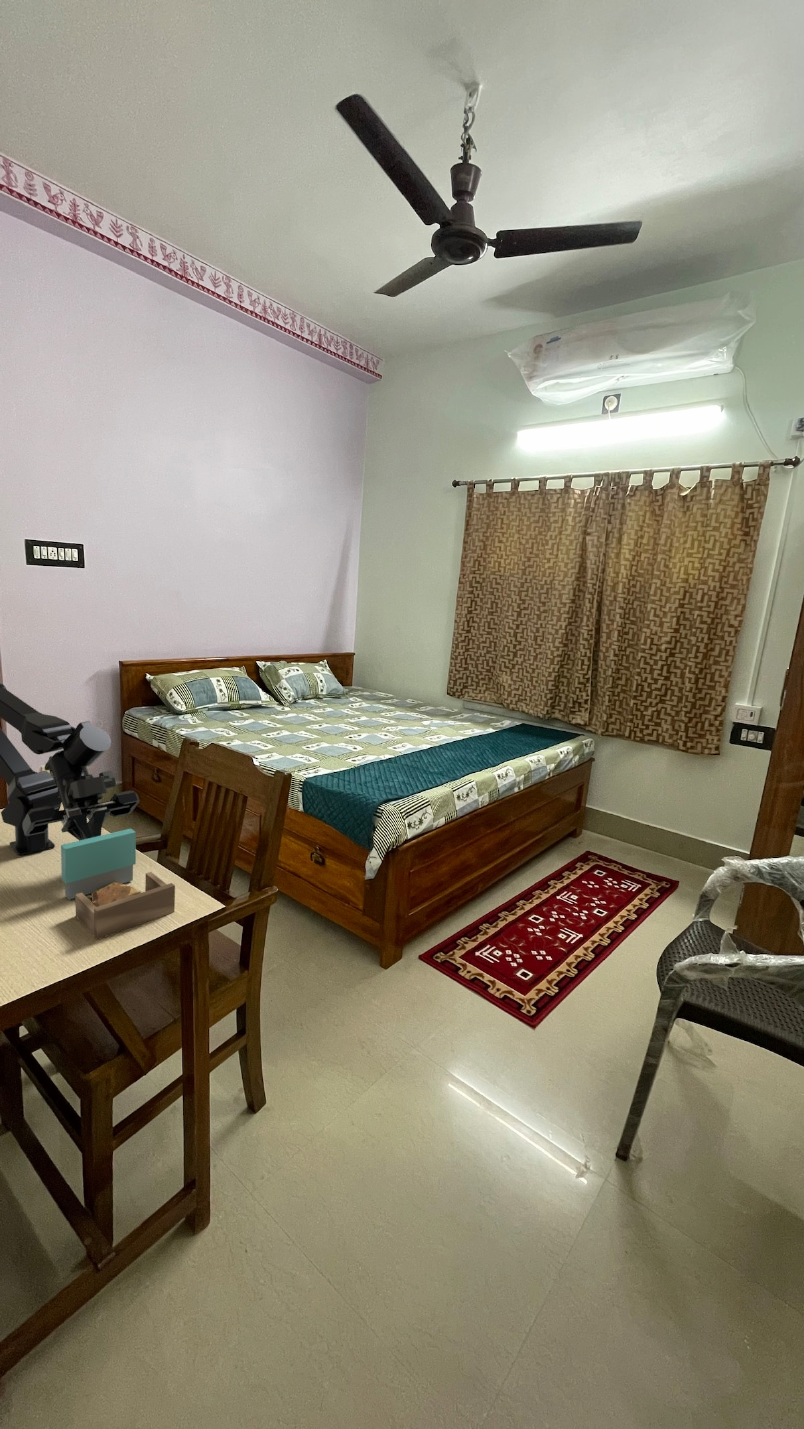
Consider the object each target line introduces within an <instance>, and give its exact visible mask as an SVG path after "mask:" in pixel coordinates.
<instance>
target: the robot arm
mask: <svg viewBox="0 0 804 1429" xmlns="http://www.w3.org/2000/svg"><path fill="white" fill-rule="evenodd" d="M0 719H2V720H3V721H4V722H6V724H7V723H8V724H9V725H10V726H11V727H13V728H14V729H16V730H17V731H18V732H19V733H20V734H21V742H22V743H23V744H24V745H25V746H27V748H28V749H29V750H30V751H31V752H32V753H34V755H35V754H36V755H44V754H48V753H52V752H53V753H54V752H55V753H54V754H53V755H51V756H49V757H48V760H47V762H46V763H45V765H44V770H43V771H40V772H39V771H38V772H37V771H34V770H33V769H32V768H31V766H30V764H28V762H27V761H26V759H25V758H24V757H23V755H22V754H21V753H20V752H19V750H18V749H17V748H16V747H15V745H14V743H12V741H11V740H10V739H9V737H8V736H7V735H6V733H5V732H4V730H2V728H1V727H0V776H1V778H2V779H3V780H4V781H5V783H6V784H7V786H8V787H7V788H8V789H7V801H8V804H7V805H6V806H5V807H4V808H3V809H2V810H1V811H0V815H1V818H2V821H3V823H4V824H7V825H10V826H13V827H14V834H15V835H14V836H15V838H14V839H15V840H14V841H11V842H9V846H10V847H11V848H12V850H13V851H14V852H15V853H16V854H17V856H23V855H29V854H33V853H37V852H42V851H46V850H50V849H54V848H55V847H56V845H55V844H56V843H54V842H53V841H52V840H50V839H49V825H50V824H53V823H54V824H55V823H58V822H60V823H61V824H62V826H63V827H62V828H61V833H68V834H69V835H71V836H72V837H74V838H75V839H77V841H80V840H84V839H89V838H93V837H97V836H101V835H102V828H103V824H104V823H105V821H106V820H107V818H108V816H109V815H110V816H112V817H114V818H118V817H122V816H126V815H127V816H128V815H129V814H131V813H133V811H134V810H135V808H136V807H137V806H138V805H139V803H140V799H139V798H140V797H139V795H138V793H136V792H135V791H134V790H127V791H122V792H116V793H114V794H113V795H112V797H111V798H110V800H107V801H102V802H99V800H102V799H103V797H104V795H103V794H108V789H113V788H115V787H116V785H117V782H116V778H115V774H114V772H113V770H107V771H102V772H100V773H99V774H98V776H95V777H94V775H93V774H90V773H89V770H88V767H89V766H92V765H93V764H94V763H95V762H96V761H97V760H98V759H99V758H100V757H101V756H103V754H104V753H106V752H107V750H108V749H110V747H111V746H112V745H111V744H112V739H111V735H110V734H109V733H108V732H106V731H105V730H104V729H102V727H98V726H95V725H93V724H92V723H91V721H88V720H87V721H82V722H79V723H78V724H77V725H76V727H74V726H72V725H71V724H70V723H69V722H68V721H67V720H64V719H63V718H60V717H58V716H56V715H52V714H51V715H50V714H44V713H42V712H39V711H38V710H37V709H36V708H34V707H33V706H31V705H29V704H28V703H26V702H25V701H24V700H22V699H21V698H20V697H18V696H17V695H15V694H13V693H12V692H10V691H9V690H8V689H7V688H6V686H5V685H4V684H3V683H0ZM49 771H51V773H52V774H51V773H50V772H49ZM61 806H62V807H63V809H61Z"/></svg>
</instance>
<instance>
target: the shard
mask: <svg viewBox="0 0 804 1429" xmlns="http://www.w3.org/2000/svg"><path fill="white" fill-rule="evenodd" d="M139 893H142V892H141V891H140V890H138V889H137V888H135V887H133V886H130V885H126V884H125V883H123V884H121V883H118V882H113V883H111V884H109V885H108V886H106V887H104V888H102V889H100V890H97V891H94V892H92V893H91V898H92V899H91V902H92V903H93V904H94V905H95V906H96V907H99V906H102V905H105V904H108V903H111V902H114V901H117V900H121V899H124V898H127V897H130V896H133V895H136V894H139Z"/></svg>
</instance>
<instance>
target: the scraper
mask: <svg viewBox="0 0 804 1429" xmlns="http://www.w3.org/2000/svg"><path fill="white" fill-rule="evenodd" d="M136 833H137V832H136V831H135V830H134V829H132V828H127V829H123V830H119V831H115V832H110V833H106V834H101V836H97V837H93V838H89V839H84V840H80V841H79V840H76V841H72V842H68V843H63V844H60V857H61V859H60V860H61V862H60V864H61V865H60V867H61V871H60V872H61V880H62V881H63V882H64V895H65V897H66V898H67V899H68V900H72V899H75V894H78V893H83V894H84V895H85V896H86V895H89V894H92V892H94V891H97V890H100V889H102V888H104V887H106V886H108V885H109V884H111V883H113V882H118V883H121V884H126V883H129V882H132V881H134V865H136V863H137V862H136V861H137V860H136V858H137V857H136V856H137V853H136V849H137V848H136V846H137V844H136V843H137V842H136V841H137V837H136V835H137V834H136Z"/></svg>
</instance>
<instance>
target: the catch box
mask: <svg viewBox="0 0 804 1429" xmlns="http://www.w3.org/2000/svg"><path fill="white" fill-rule="evenodd" d="M175 897H176V885H175V884H173V882H171V883H167V882H165V881H163V880H162V879H161V878H159V877H158V876H157V875H156V874H155V873H153V872H152V871H149V872H146V873H145V890H144V891H143V892H141V893H139V894H136V895H133V896H130V897H127V898H124V899H121V900H117V901H114V902H111V903H108V904H105V905H102V906H99V907H96V906H95V905H94V904H93V902H92V900H90V899H89V898H88V897H87V896H86V895H84V894H83V893H78V894H75V898H74V900H75V917H76V918H77V920H79V922H81V924H82V925H83V926H84V927H85V928H86V929H87V931H89V933H90V934H91V935H93V937H94V938H95V939H96V940H97V941H99V940H101V939H103V938H106V937H109V936H111V935H115V934H117V933H120V932H123V931H126V930H129V929H131V928H133V927H136V926H139V925H141V924H145V923H147V922H149V921H153V920H155V919H158V918H161V917H164V916H167V915H169V914H172V913H175V909H176V908H175V904H176V903H175V899H176V898H175Z"/></svg>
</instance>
